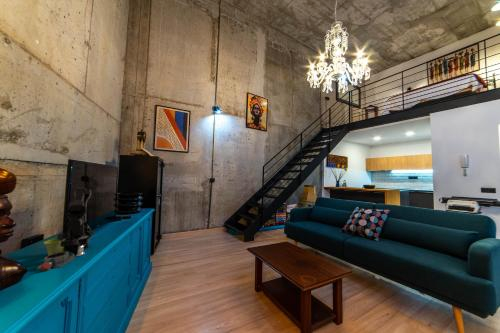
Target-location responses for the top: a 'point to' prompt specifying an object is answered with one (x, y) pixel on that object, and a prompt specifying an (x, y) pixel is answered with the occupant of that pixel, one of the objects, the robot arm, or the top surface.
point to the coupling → (80, 250)
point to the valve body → (55, 260)
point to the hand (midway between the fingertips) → (78, 253)
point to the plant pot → (53, 246)
